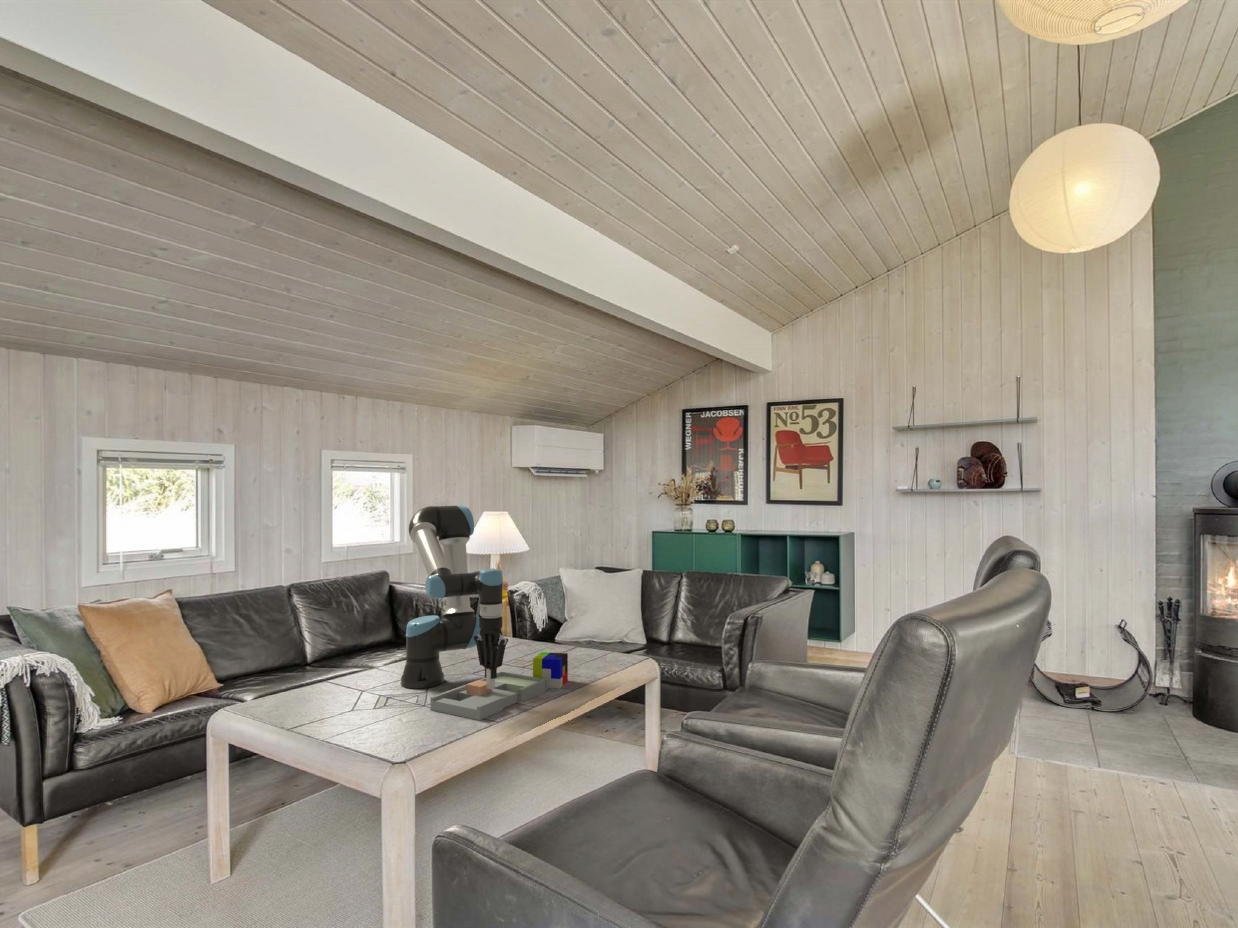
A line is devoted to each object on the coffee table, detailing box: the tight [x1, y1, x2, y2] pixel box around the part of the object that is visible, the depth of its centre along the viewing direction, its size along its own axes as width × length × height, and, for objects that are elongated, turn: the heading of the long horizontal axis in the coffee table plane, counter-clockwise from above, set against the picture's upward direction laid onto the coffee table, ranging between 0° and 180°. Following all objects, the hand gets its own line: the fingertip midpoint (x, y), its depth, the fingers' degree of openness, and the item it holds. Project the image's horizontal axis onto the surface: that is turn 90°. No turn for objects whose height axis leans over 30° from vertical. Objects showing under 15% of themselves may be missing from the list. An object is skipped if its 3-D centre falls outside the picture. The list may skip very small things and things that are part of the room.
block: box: [465, 679, 492, 696], centre depth 230 cm, size 6×6×3 cm
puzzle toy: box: [532, 651, 569, 689], centre depth 251 cm, size 10×10×10 cm
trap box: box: [429, 671, 548, 721], centre depth 231 cm, size 20×35×4 cm, turn 150°
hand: (490, 687), depth 229 cm, fingers closed
